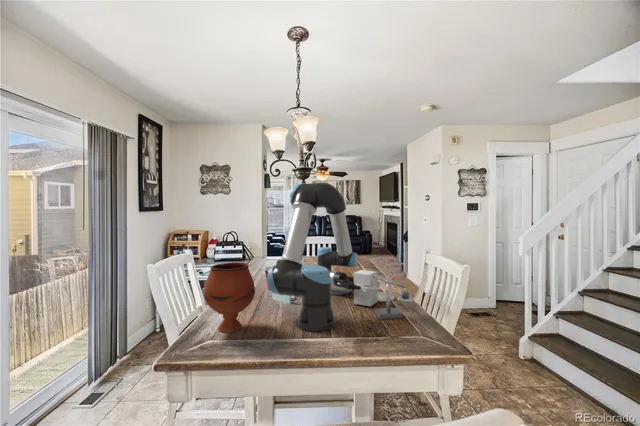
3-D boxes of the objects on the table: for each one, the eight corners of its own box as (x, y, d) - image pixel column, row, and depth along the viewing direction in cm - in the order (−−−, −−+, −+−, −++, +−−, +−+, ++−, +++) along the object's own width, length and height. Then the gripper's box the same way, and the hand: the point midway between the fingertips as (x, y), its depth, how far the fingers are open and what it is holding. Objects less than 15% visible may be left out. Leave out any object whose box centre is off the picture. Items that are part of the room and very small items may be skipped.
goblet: (260, 319, 130) (259, 260, 129) (248, 338, 111) (247, 270, 110) (215, 318, 131) (214, 260, 130) (196, 338, 111) (194, 270, 111)
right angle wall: (289, 304, 150) (289, 289, 150) (272, 300, 157) (272, 285, 157) (305, 298, 159) (305, 284, 159) (288, 294, 167) (288, 281, 166)
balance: (365, 319, 129) (365, 276, 128) (361, 313, 136) (361, 272, 135) (416, 317, 131) (416, 274, 130) (409, 311, 138) (409, 271, 137)
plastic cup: (281, 291, 171) (281, 270, 171) (262, 291, 171) (262, 270, 171) (284, 286, 182) (284, 266, 182) (266, 286, 182) (265, 266, 182)
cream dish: (372, 302, 150) (372, 300, 150) (365, 295, 163) (365, 292, 163) (397, 301, 152) (397, 299, 152) (389, 294, 165) (389, 291, 164)
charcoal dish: (328, 295, 162) (328, 293, 162) (325, 289, 175) (325, 286, 175) (352, 294, 164) (352, 292, 164) (347, 288, 176) (347, 286, 176)
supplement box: (378, 301, 150) (378, 271, 149) (370, 306, 142) (370, 274, 142) (361, 298, 155) (361, 269, 154) (353, 303, 147) (353, 272, 147)
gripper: (351, 282, 169) (386, 289, 153) (323, 290, 153) (358, 299, 137) (351, 268, 169) (386, 275, 153) (322, 275, 153) (358, 283, 137)
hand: (373, 286), depth 145 cm, fingers closed on supplement box, 10 cm apart
